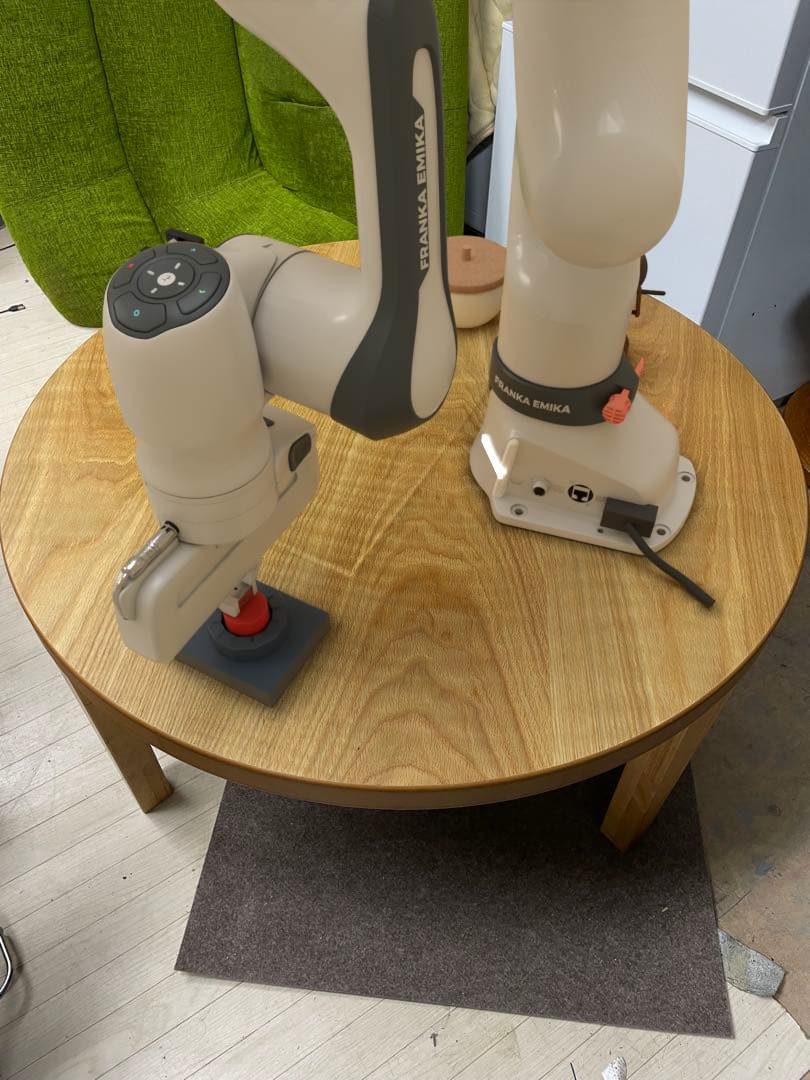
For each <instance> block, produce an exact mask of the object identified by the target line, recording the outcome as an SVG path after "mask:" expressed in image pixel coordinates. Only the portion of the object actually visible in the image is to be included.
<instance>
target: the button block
mask: <svg viewBox="0 0 810 1080" xmlns="http://www.w3.org/2000/svg"><path fill="white" fill-rule="evenodd" d="M256 586H257V591H259V592H261V593H262V594H263V595H264V596H265V598H266V600H267V604H268V609H269V615H270V617H269V622H268V624H267V625H266V627H265V628H264V629H263V630H262V631H260V632H259V633H257V634H255V635H251V636H239V635H236V634H234V633H232V632H231V631H230V630H229V629H228V628H227V626H226V622H225V619H224V615H223V611H221V610H220V609H219V607H218V608H217V609H216V610H215V611H214V612H213V613H212V615H211V616H210V617H209V618H208V619H207V620H206V621H205V623H204V624H203V625H202V626H201V627H200V628H199V629H198V631H197V632H196V633H195V634H194V635H193V636H192V637H191V639H190V640H189V641H188V642H187V643H186V644H185V645H184V647H183V648H182V649H181V650H180V651H179V652H178V653H177V655H176V656H175V657H174V658H173V660H175V661H178V662H180V663H182V664H184V665H186V666H188V667H190V668H192V669H194V670H196V671H198V672H200V673H202V674H204V675H206V676H207V677H210V678H211V679H214V680H216V681H218V682H220V683H222V684H223V685H226V686H228V687H229V688H231V689H233V690H235V691H237V692H239V693H241V694H243V695H245V696H247V697H249V698H251V699H253V700H255V701H257V702H259V703H260V704H262V705H264V706H267V707H269V708H271V709H273V708H274V706H275V705H276V704H277V703H278V701H279V699H280V698H281V697H282V695H283V694H284V693H285V692H286V690H287V689H288V687H289V686H290V684H291V683H292V682H293V680H294V679H295V678H296V676H297V675H298V673H299V672H300V671H301V669H302V668H303V667H304V665H305V664H306V663H307V661H308V660H309V658H310V657H311V656H312V655H313V653H314V651H315V650H316V649H317V648H318V646H319V645H320V643H321V642H322V641H323V639H324V638H325V636H326V635H327V634H328V633H329V631H330V629H331V619H330V613H329V612H327V611H325V610H323V609H321V608H319V607H316V606H314V605H312V604H310V603H308V602H305V601H304V600H302V599H299V598H297V597H294V596H292V595H290V594H289V593H286V592H284V591H281V590H279V589H277V588H275V587H273V586H270V585H269V584H266V583H264V582H262V581H259V580H258V579H256Z"/></svg>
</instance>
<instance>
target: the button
mask: <svg viewBox="0 0 810 1080" xmlns="http://www.w3.org/2000/svg"><path fill="white" fill-rule="evenodd" d="M223 615H224V619H225V622H226V626H227V628H228V629H229V630H230V631H231V632H232V633H234V634H236V635H239V636H251V635H255V634H257V633H259V632H260V631H262V630H263V629H264V628H265V627H266V625H267V624H268V622H269V617H270V615H269V609H268V604H267V600H266V598H265V596H264V595H263V594H262V593H261V592H259V591H257V593H256V594H255V595H254V596H253V597H252V598H251V600H250V601H249V602H248V603H247V604H246V605H245V607H244V608H243V609H242V610H241V611H240V612H239V614H238V615H237V616H236V617H232V616H230V615H228V614H226V613H224V612H223Z"/></svg>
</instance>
